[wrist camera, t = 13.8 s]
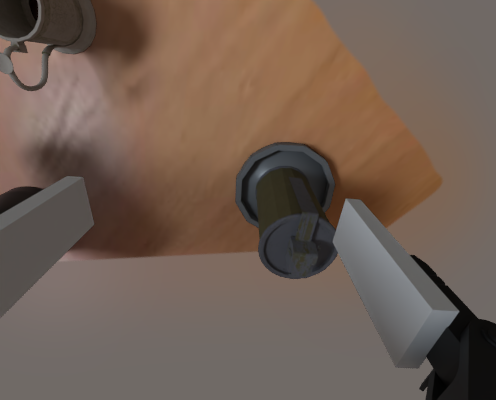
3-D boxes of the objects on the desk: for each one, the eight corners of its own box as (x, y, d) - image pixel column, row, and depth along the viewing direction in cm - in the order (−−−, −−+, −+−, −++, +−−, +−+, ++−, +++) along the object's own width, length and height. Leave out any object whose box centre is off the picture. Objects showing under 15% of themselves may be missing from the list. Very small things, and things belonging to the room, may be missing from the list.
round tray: (234, 225, 51) (234, 230, 49) (238, 139, 43) (237, 142, 41) (320, 229, 52) (322, 235, 50) (339, 145, 43) (344, 148, 42)
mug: (11, -37, 32) (-104, -89, 22) (87, -29, 33) (10, -77, 22) (45, 84, 39) (-31, 89, 28) (107, 89, 39) (55, 96, 29)
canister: (302, 217, 50) (332, 298, 32) (251, 211, 49) (253, 290, 31) (316, 167, 45) (361, 230, 27) (260, 159, 44) (268, 218, 26)
